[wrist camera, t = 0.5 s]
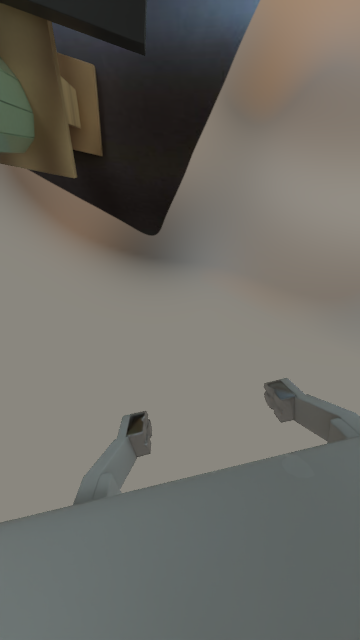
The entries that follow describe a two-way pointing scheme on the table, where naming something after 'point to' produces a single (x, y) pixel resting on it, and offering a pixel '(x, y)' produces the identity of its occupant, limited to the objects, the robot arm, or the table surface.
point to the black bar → (95, 18)
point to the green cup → (14, 114)
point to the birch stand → (50, 95)
